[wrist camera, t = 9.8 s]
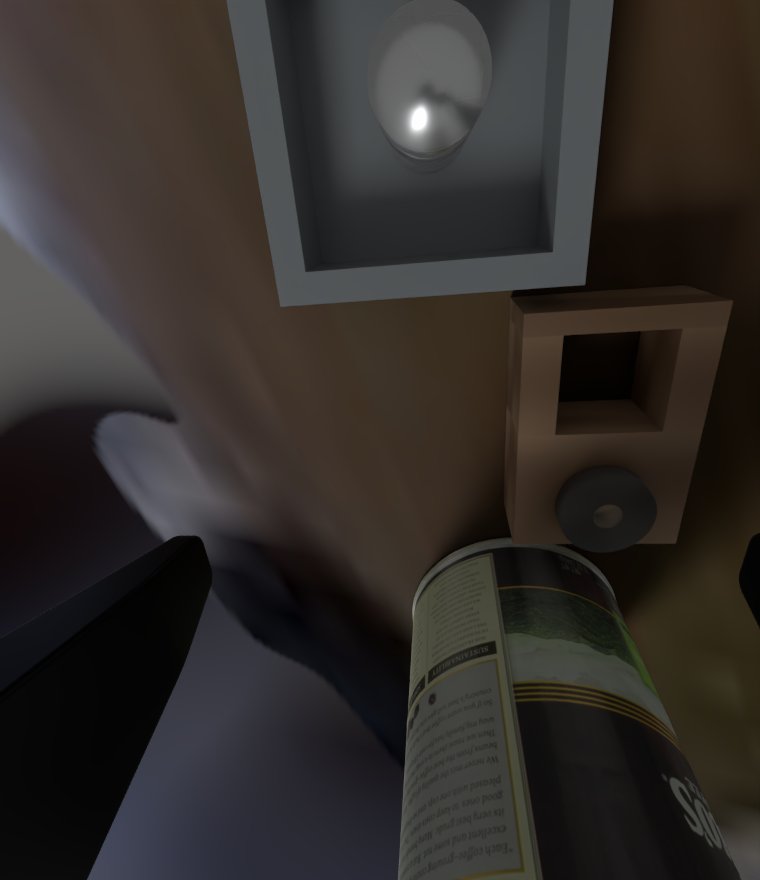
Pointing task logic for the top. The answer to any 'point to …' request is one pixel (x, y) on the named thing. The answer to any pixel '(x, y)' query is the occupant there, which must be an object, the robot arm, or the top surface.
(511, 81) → the pin tray
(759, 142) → the top surface
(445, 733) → the coffee can
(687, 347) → the block
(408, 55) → the pin
